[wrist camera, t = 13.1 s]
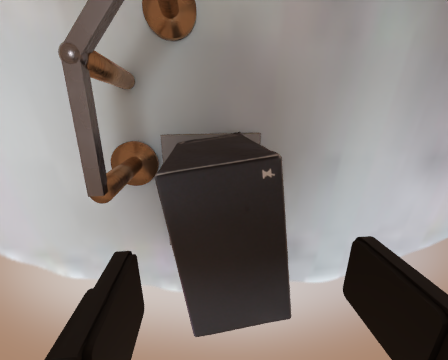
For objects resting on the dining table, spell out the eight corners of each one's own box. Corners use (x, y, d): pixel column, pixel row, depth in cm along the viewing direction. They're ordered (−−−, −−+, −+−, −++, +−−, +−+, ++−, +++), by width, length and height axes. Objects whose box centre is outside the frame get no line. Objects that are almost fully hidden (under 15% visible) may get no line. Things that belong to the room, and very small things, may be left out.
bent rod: (202, -6, 17) (208, -119, 9) (153, 188, 21) (125, 237, 13) (138, -35, 16) (77, -191, 8) (99, 174, 20) (30, 217, 12)
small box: (170, 142, 20) (145, 171, 10) (242, 130, 20) (287, 147, 10) (192, 244, 23) (190, 345, 13) (254, 232, 23) (297, 320, 13)
